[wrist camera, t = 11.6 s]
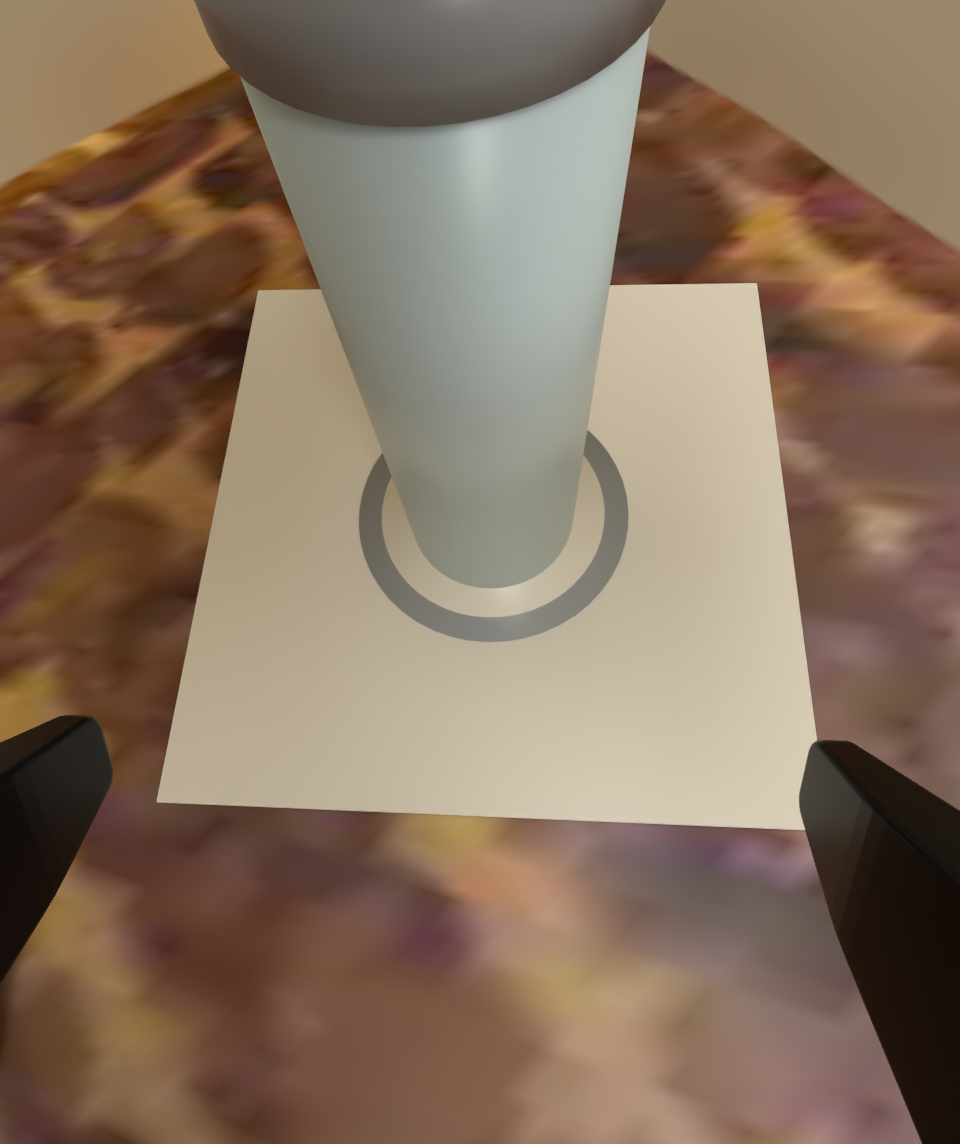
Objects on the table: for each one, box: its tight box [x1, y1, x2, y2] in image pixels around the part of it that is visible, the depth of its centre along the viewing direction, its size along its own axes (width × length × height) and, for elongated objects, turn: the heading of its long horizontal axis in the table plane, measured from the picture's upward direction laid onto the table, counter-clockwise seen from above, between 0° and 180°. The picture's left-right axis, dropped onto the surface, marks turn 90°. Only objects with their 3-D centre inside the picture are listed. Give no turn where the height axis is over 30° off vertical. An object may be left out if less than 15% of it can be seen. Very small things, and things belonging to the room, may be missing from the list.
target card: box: [157, 283, 817, 830], centre depth 19 cm, size 16×16×1 cm
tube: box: [194, 0, 666, 589], centre depth 12 cm, size 5×5×14 cm
